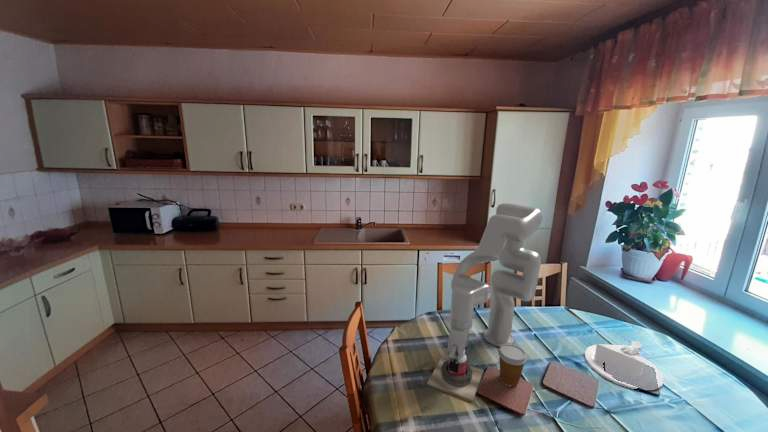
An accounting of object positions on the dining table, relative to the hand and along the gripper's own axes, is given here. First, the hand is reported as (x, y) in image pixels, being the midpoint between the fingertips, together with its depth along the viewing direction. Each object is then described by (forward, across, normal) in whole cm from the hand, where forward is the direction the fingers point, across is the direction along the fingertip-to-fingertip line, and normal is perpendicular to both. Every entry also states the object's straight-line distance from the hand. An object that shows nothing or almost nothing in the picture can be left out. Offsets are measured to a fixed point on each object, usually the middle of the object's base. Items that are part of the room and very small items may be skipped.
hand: (457, 362), depth 116 cm
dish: (+8, -39, +54) cm, 67 cm away
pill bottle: (+6, 0, 0) cm, 6 cm away
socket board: (+7, 0, 0) cm, 7 cm away
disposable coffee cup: (+7, -9, +17) cm, 20 cm away
